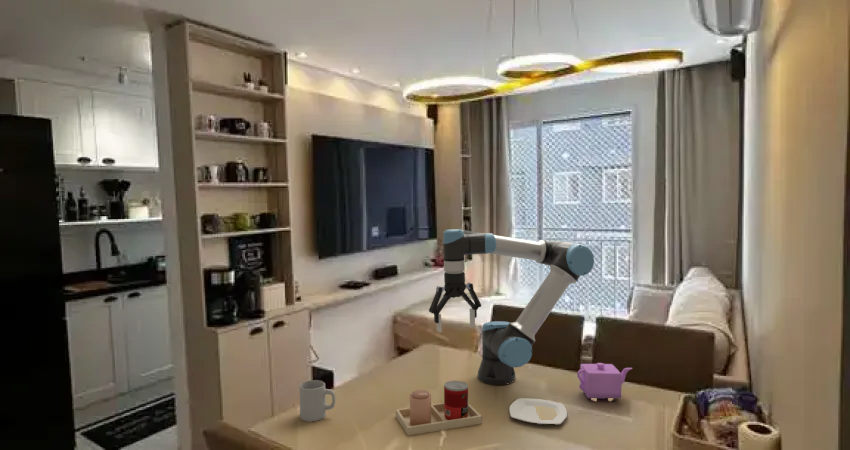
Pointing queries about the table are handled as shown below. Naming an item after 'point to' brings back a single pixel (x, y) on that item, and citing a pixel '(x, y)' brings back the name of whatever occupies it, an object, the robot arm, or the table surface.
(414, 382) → the table surface
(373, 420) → the table surface
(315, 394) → the mug
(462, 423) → the divided tray
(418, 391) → the jar
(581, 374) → the teapot
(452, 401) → the canned food
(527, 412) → the plate
